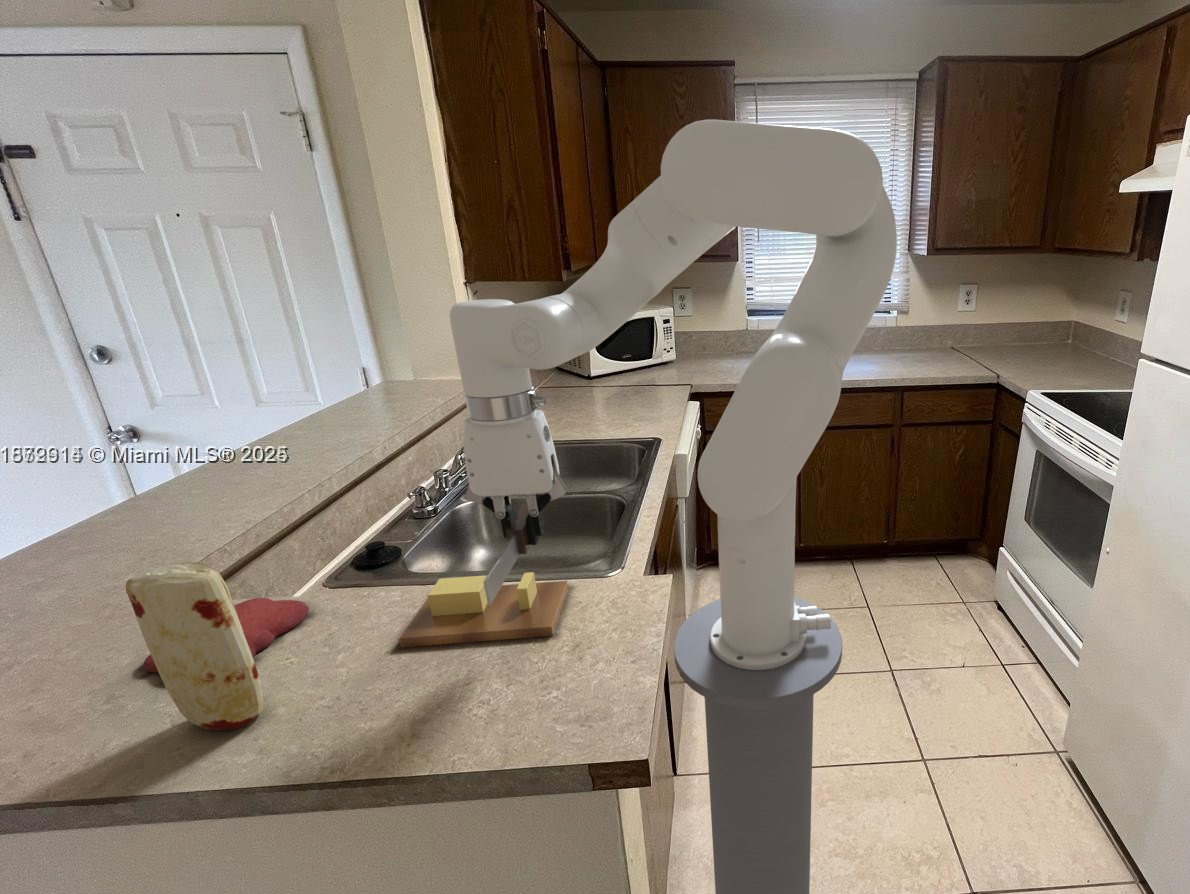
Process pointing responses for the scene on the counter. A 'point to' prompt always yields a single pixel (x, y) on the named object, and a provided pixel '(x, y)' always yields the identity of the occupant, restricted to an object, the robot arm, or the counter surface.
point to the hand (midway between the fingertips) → (525, 539)
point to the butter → (458, 596)
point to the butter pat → (526, 591)
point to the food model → (197, 644)
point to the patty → (261, 622)
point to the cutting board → (491, 619)
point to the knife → (508, 554)
